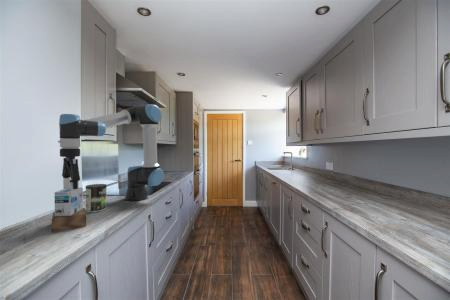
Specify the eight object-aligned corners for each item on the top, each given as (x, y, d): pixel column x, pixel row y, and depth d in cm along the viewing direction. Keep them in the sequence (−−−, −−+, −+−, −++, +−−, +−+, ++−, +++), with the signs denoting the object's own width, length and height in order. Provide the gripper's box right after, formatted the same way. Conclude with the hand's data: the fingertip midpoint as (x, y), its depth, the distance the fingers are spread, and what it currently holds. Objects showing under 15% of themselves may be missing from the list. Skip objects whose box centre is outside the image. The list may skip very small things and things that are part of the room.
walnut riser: (84, 219, 103) (84, 207, 103) (86, 227, 93) (86, 214, 93) (53, 224, 96) (53, 211, 96) (51, 233, 86) (51, 219, 86)
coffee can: (110, 207, 123) (110, 183, 123) (99, 212, 112) (99, 187, 112) (93, 206, 123) (93, 183, 123) (80, 212, 113) (81, 186, 113)
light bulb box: (71, 216, 90) (70, 191, 90) (53, 217, 89) (53, 192, 89) (83, 208, 100) (83, 187, 100) (68, 209, 99) (67, 187, 99)
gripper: (54, 147, 100) (54, 191, 100) (66, 148, 83) (67, 200, 84) (72, 147, 105) (73, 188, 106) (88, 148, 89) (88, 196, 89)
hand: (70, 193), depth 95 cm, fingers open, 13 cm apart
